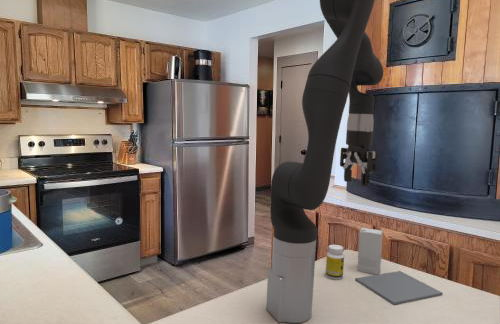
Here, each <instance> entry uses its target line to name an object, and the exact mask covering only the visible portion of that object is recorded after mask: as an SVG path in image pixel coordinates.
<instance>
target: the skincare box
mask: <svg viewBox="0 0 500 324" xmlns="http://www.w3.org/2000/svg"><path fill="white" fill-rule="evenodd" d="M383 232H384V231H383V230H379V229H375V228H374V229H372V228H367V227H361V229H360V230H359V232H358V234H359V235H358V253H357V268H356V269H357V272H362V273H367V274H371V275H378V274H381V273H380V272H381V270H382V269H381V264H382V251H383V234H384V233H383Z"/></svg>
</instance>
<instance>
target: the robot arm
mask: <svg viewBox="0 0 500 324" xmlns="http://www.w3.org/2000/svg"><path fill="white" fill-rule="evenodd" d="M374 4H375V0H319V7H320V10H321V14H322V15H323V18H324V20H325V21H326V22H327V25H328V26H329V27H330V28H329V29H331V30H332V32H333V34H334V36H335V37H336V38H337V39H336V40H335V41H334V42H333V43H332V44H331V45H330V46H329V47H328V48H327V50H325V51H324V53H322V55H320V56H319V58H317V60H316V61H315V62H314V63H313V64H312V66H311V68H310V70H309V72H308V75H307V78H306V81H305V86H304V89H303V92H302V97H301V99H302V100H301V105H302V111H303V115H304V120H305V125H306V128H307V135H308V137H307V139H308V140H307V147H306V150H305V156H304V158H303V159H304V160H303V162H297V161H283V162H282V163H280V164H278V166H277V167H276V168H275V169H274V171H273V174H272V177H271V182H270V222H271V225H272V227H273V237H272V238H273V239H272V240H273V241H272V258H271V267H269V268H268V269H267V285H266V303H265V304H266V305H265V309H266V310H267V311H268V313H270V315H271V316H272V317H273V318H274V319H275V320H276V322H278V323H289V324H298V323H304V322H306V321H308V320H310V319H311V318H312V314H313V297H314V282H315V281H314V280H315V265H316V251H317V250H316V249H317V237H318V235H317V233H318V230H317V229H318V227H317V226H316V224H315V222H313V221H312V220H311V219H310V218H309V216H308V215H307V214H306V212H305V210H306V211H313V210H316V209H318V208H319V207H320V206H321V205H322V204H323V203H324V201H325V199H326V196H327V194H328V192H329V187H330V183H331V182H330V181H331V175H332V171H333V170H332V169H333V164H334V156H335V150H336V145H337V139H338V136H339V130H340V127H341V122H342V118H343V114H344V110H345V107H346V105H347V100H348V99H349V103H348V105H349V106H348V115H347V116H348V117H347V122H346V134H345V135H346V136H345V144H346V145H347V146H348V147H341V148H340V157H339V166H340V167H342V168H343V170H344V172H343V181H344V182H347V183H348V182H352V173H353V170H352V169H353V167H354V166H355V165H356V164H357V165H358V167H360V169H361V179H360V180H361V182H360V186H362V187H369V185H370V181H371V180H370V178H371V174H372V173H376V172H377V164H378V152H377V151H373V150H372V151H370V147H372V145H373V137H374V135H373V133H374V109H375V96H374V95H372V94H370V93H364V92H362V91H360V90H359V88H358V87H359V86H364V87H365V86H376V85H378V84H380V82H381V81H382V80H383V78H384V68H383V64H382V62H381V61H380V59H379V58H378V57H377V56H376V55H375V53H374V50H373V46H372V41H371V39H370V37H369V35H368V34H367V32H365V31H366V30H367V29H366V28H367V26H368V23H369V20H370V18H371V15H372V11H373V7H374Z"/></svg>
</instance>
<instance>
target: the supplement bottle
mask: <svg viewBox="0 0 500 324" xmlns="http://www.w3.org/2000/svg"><path fill="white" fill-rule="evenodd" d="M325 260H326V262H325V263H326V264H325V277H326V278H328V279H331V280H342V279H343V276H344V268H345V267H344V265H345V264H344V263H345V255H344V246H342V245H339V244H330V245H328V250H327V253H326V259H325Z"/></svg>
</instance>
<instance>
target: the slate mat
mask: <svg viewBox="0 0 500 324" xmlns="http://www.w3.org/2000/svg"><path fill="white" fill-rule="evenodd" d="M354 280H355V281H356V282H357V283H359V284H360V285H361V286H363V287H365V288H366V289H368V290H370V291H371V292H373V293H374V294H375V295H378V296H379V297H380V298H382V299H384V300H385V301H387V302H388V303H390V304H391V305H392V306H397V305H402V304H406V303H410V302H411V303H412V302H416V301H420V300H421V301H422V300H425V299H430V298H435V297H438V296H440V297H441V296H443V292H442V291H440V290H438V289H436V288H434V287H432V286H430V285H428V284H426V283H425V282H422V281H420V280H419V279H416V278H415V277H412V275H409V274H407V273H405V272H403V271H401V270H398V271H392V272H385V273H379V274H378V275H376V274H371V275H366V276H361V277H355V279H354Z"/></svg>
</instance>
